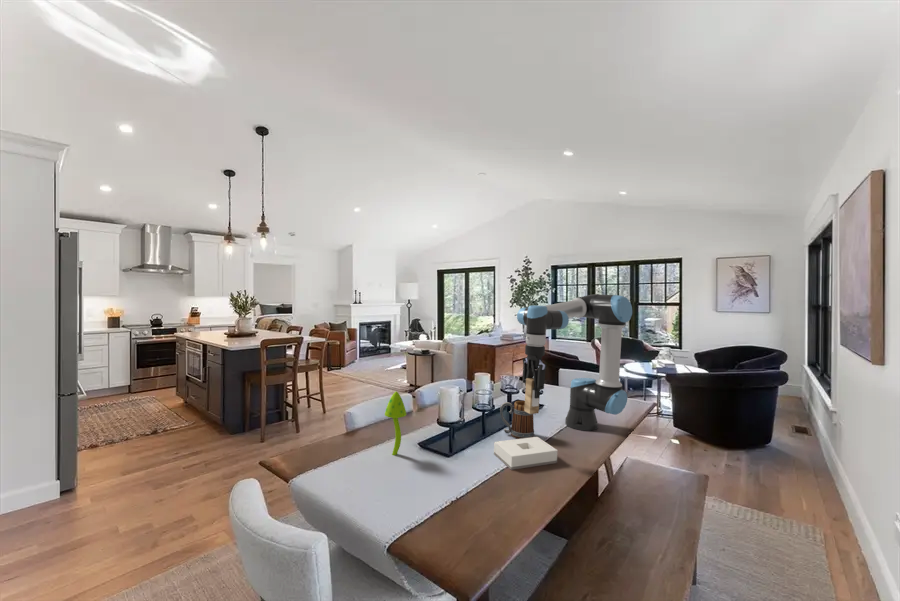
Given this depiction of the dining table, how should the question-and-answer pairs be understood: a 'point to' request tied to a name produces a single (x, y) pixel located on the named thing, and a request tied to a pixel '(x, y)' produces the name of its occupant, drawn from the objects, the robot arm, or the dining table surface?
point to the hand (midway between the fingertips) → (531, 404)
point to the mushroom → (396, 417)
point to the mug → (519, 421)
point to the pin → (530, 397)
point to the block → (525, 452)
